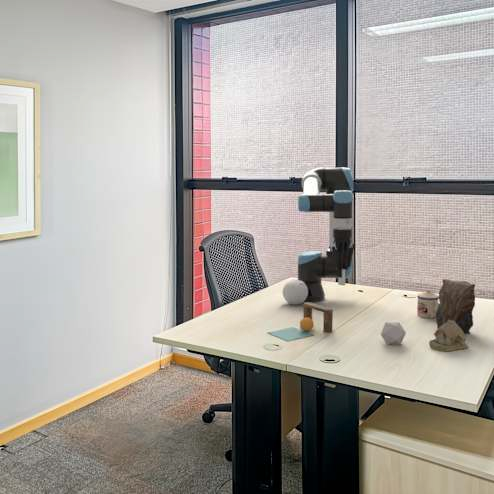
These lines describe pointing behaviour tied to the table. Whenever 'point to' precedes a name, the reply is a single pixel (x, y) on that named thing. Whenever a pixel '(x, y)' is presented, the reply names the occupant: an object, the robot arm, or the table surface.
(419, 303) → the teacup with lid
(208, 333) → the table surface
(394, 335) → the die
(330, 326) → the bridge
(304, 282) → the robot arm
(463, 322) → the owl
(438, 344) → the ceramic model
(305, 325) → the ball
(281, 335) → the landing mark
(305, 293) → the decorative ball
